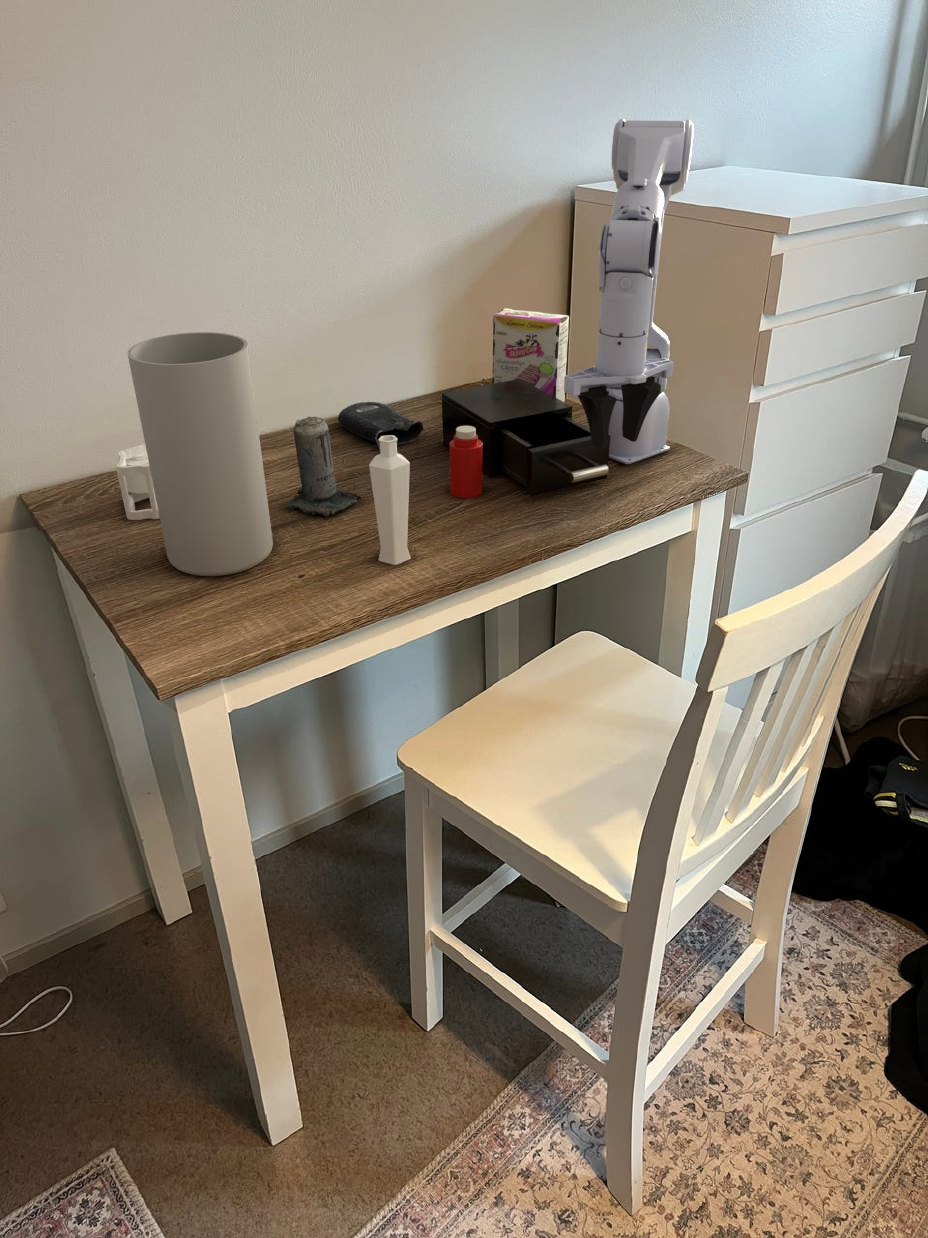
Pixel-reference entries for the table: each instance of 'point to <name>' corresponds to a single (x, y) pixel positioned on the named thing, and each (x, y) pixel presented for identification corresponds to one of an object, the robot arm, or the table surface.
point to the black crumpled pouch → (379, 422)
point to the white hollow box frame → (136, 482)
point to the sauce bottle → (465, 463)
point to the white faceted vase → (391, 500)
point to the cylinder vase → (203, 450)
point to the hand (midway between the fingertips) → (614, 442)
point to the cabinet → (495, 412)
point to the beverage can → (317, 470)
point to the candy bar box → (531, 349)
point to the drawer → (549, 454)
